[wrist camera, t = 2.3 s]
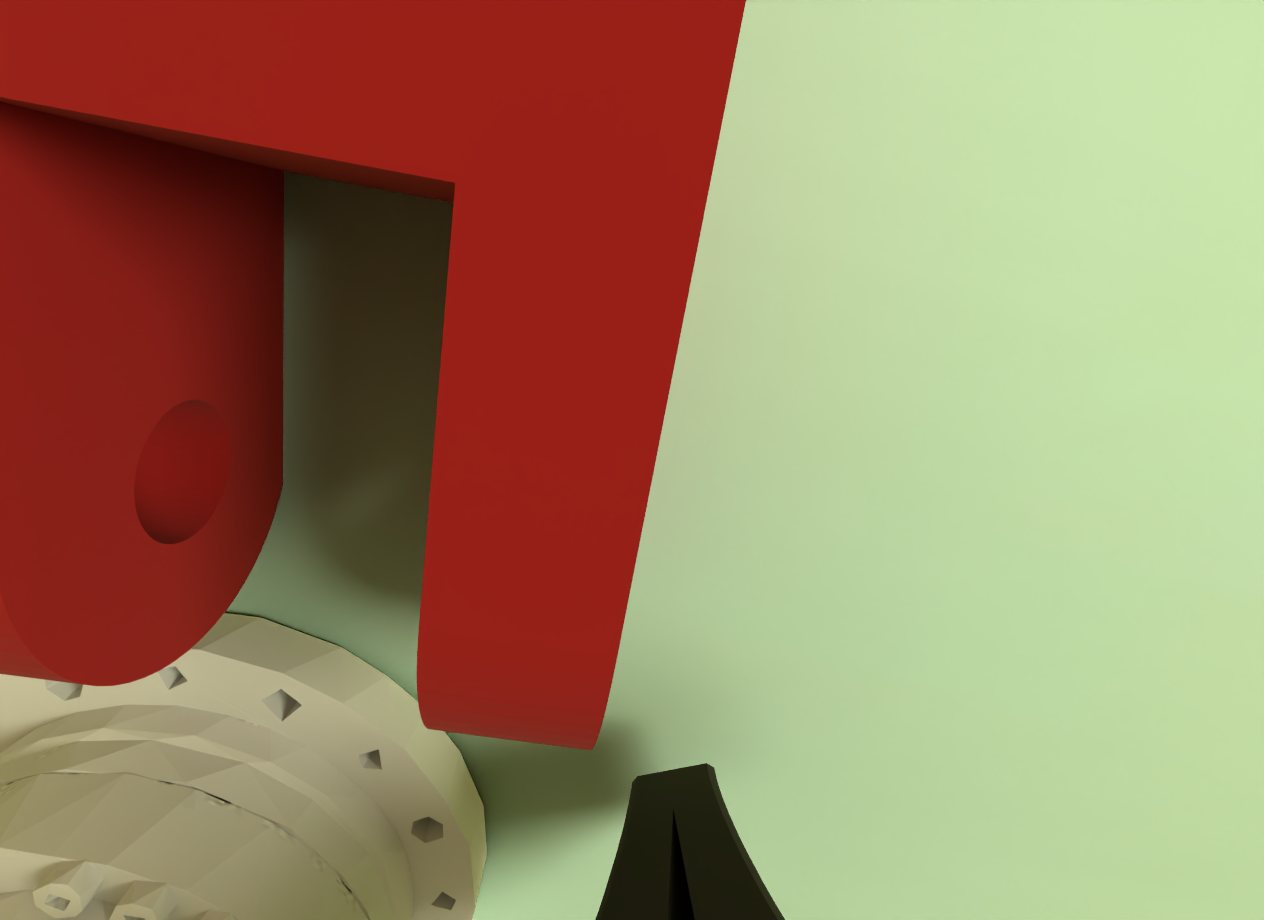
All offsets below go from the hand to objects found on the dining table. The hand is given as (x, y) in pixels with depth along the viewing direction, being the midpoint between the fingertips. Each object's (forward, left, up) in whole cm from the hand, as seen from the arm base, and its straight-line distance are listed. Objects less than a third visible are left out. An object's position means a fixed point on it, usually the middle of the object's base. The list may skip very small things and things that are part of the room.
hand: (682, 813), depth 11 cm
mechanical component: (0, +9, -2) cm, 9 cm away
